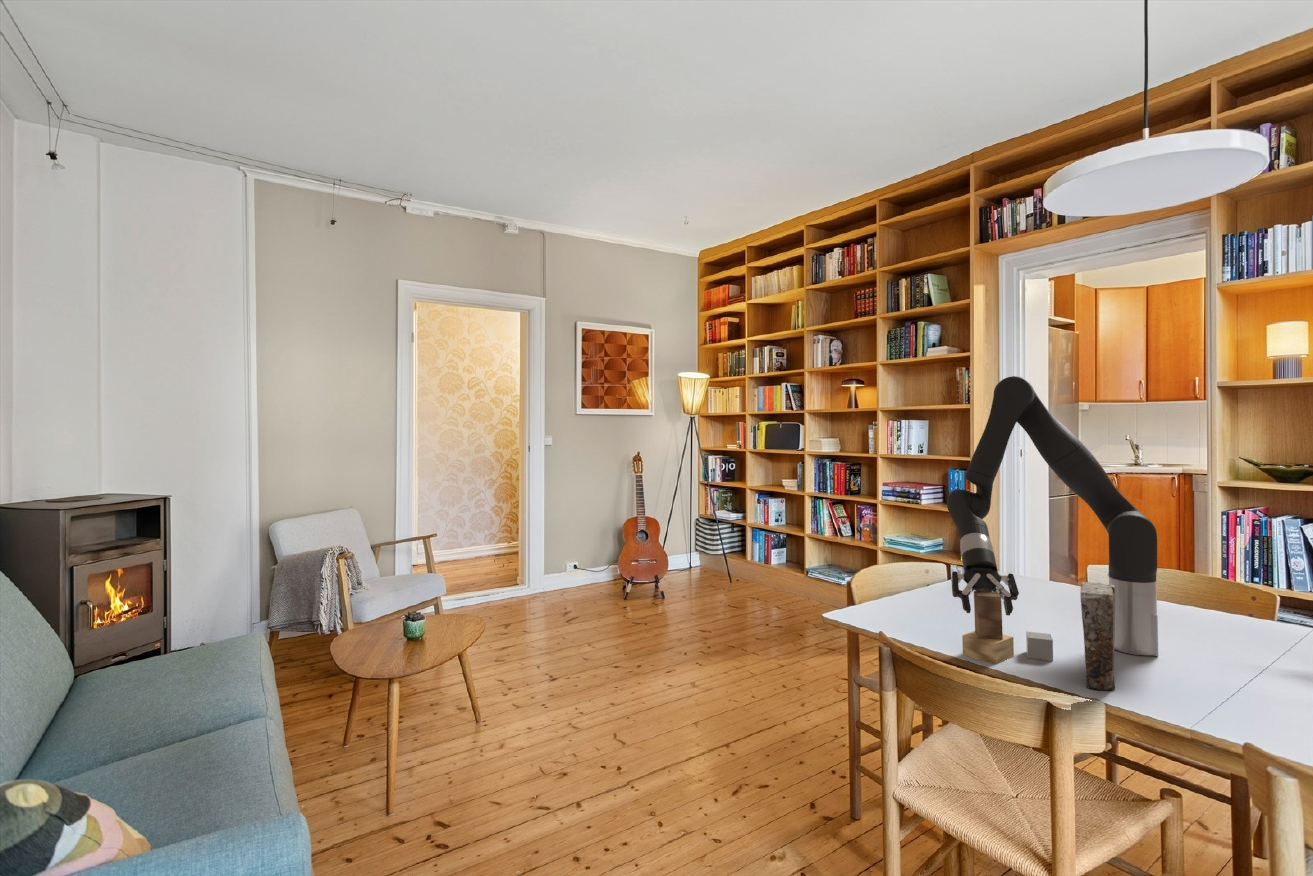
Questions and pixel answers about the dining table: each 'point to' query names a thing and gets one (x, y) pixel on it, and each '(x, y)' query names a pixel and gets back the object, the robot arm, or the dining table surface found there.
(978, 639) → the oak block
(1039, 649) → the grey cube
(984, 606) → the walnut pillar
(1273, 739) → the dining table surface
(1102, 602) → the stone block
